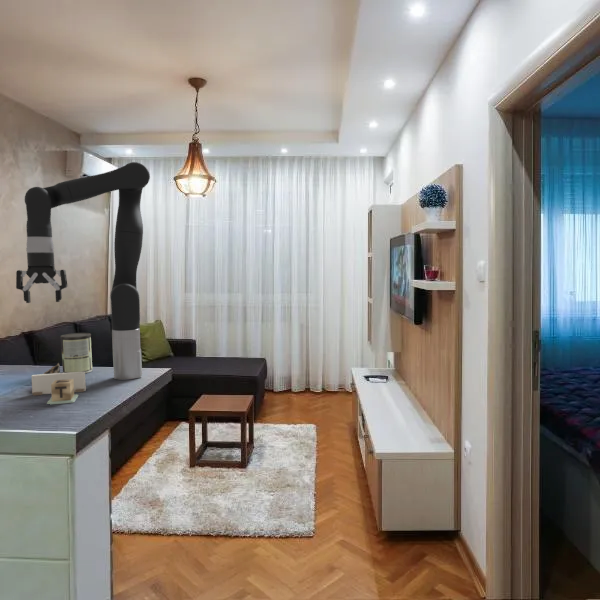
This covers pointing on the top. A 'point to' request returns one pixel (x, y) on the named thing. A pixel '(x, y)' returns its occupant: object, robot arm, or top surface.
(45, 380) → the screen
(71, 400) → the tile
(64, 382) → the letter cube
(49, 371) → the rock
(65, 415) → the top surface
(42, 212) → the robot arm
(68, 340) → the coffee can
